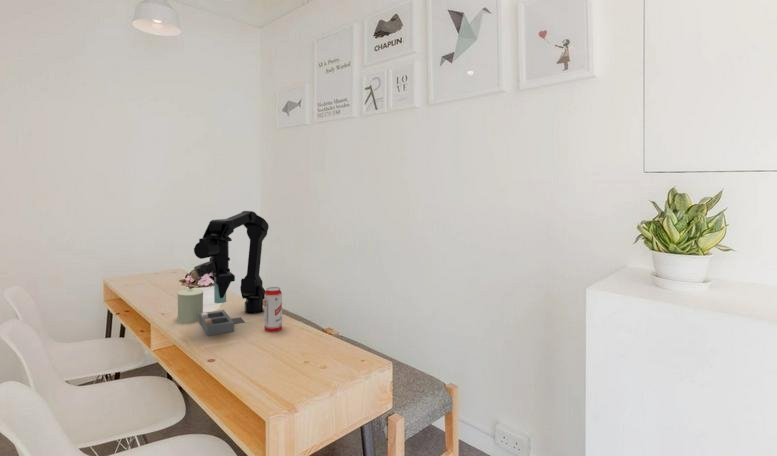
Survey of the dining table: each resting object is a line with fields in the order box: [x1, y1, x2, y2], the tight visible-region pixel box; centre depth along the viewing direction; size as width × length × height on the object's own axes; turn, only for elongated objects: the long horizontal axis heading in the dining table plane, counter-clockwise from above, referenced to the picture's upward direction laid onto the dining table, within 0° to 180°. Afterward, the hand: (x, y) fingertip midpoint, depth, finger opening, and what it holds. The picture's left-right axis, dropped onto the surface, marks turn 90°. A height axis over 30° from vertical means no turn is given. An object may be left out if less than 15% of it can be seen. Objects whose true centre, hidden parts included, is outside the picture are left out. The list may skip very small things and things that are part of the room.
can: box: [177, 288, 204, 324], centre depth 158 cm, size 9×9×12 cm
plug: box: [213, 281, 227, 304], centre depth 148 cm, size 4×4×8 cm
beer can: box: [264, 286, 283, 333], centre depth 150 cm, size 6×6×16 cm
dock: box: [198, 309, 235, 337], centre depth 151 cm, size 9×17×5 cm, turn 34°
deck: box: [231, 316, 246, 325], centre depth 158 cm, size 6×7×1 cm
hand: (220, 296), depth 148 cm, fingers closed on plug, 4 cm apart
